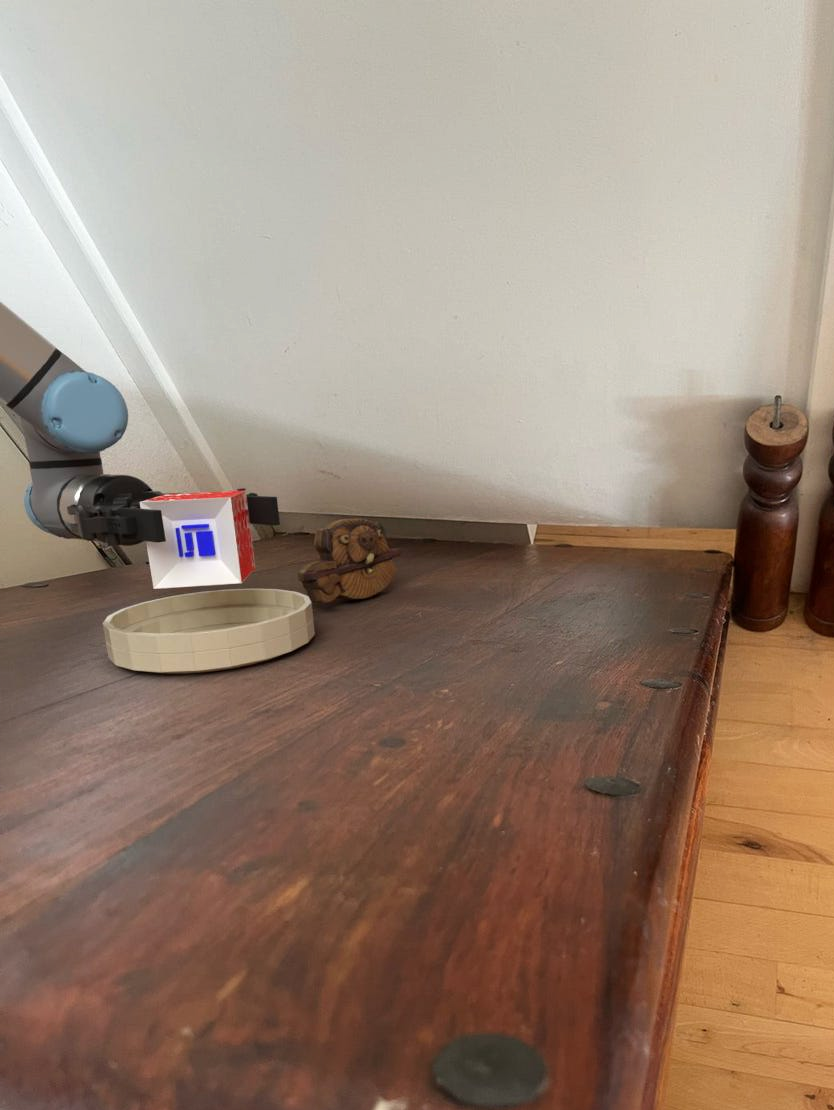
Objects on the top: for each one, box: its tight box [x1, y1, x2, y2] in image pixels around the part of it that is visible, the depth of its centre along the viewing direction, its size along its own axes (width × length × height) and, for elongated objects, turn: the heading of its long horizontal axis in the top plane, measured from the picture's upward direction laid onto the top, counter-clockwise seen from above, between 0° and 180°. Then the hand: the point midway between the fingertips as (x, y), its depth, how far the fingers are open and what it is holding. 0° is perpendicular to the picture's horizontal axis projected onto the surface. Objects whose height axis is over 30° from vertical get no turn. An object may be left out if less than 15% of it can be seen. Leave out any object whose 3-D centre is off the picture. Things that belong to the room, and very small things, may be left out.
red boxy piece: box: [140, 489, 256, 590], centre depth 74 cm, size 8×8×8 cm
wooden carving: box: [297, 518, 403, 604], centre depth 94 cm, size 16×5×10 cm, turn 150°
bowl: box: [102, 588, 316, 675], centre depth 76 cm, size 19×19×4 cm
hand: (221, 518), depth 71 cm, fingers closed on red boxy piece, 11 cm apart
